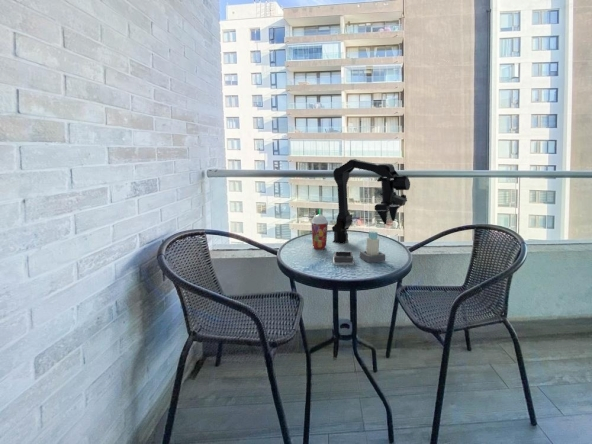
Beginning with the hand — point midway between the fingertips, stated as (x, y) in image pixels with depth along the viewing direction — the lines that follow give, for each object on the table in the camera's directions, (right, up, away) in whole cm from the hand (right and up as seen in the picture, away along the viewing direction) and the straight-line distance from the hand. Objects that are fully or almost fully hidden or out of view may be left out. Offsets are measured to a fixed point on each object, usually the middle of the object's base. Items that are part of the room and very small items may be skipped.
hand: (389, 222), depth 199 cm
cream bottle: (-10, -17, -11) cm, 23 cm away
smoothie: (-34, -13, +8) cm, 37 cm away
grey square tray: (-10, -17, -11) cm, 23 cm away
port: (-24, -18, -14) cm, 33 cm away
